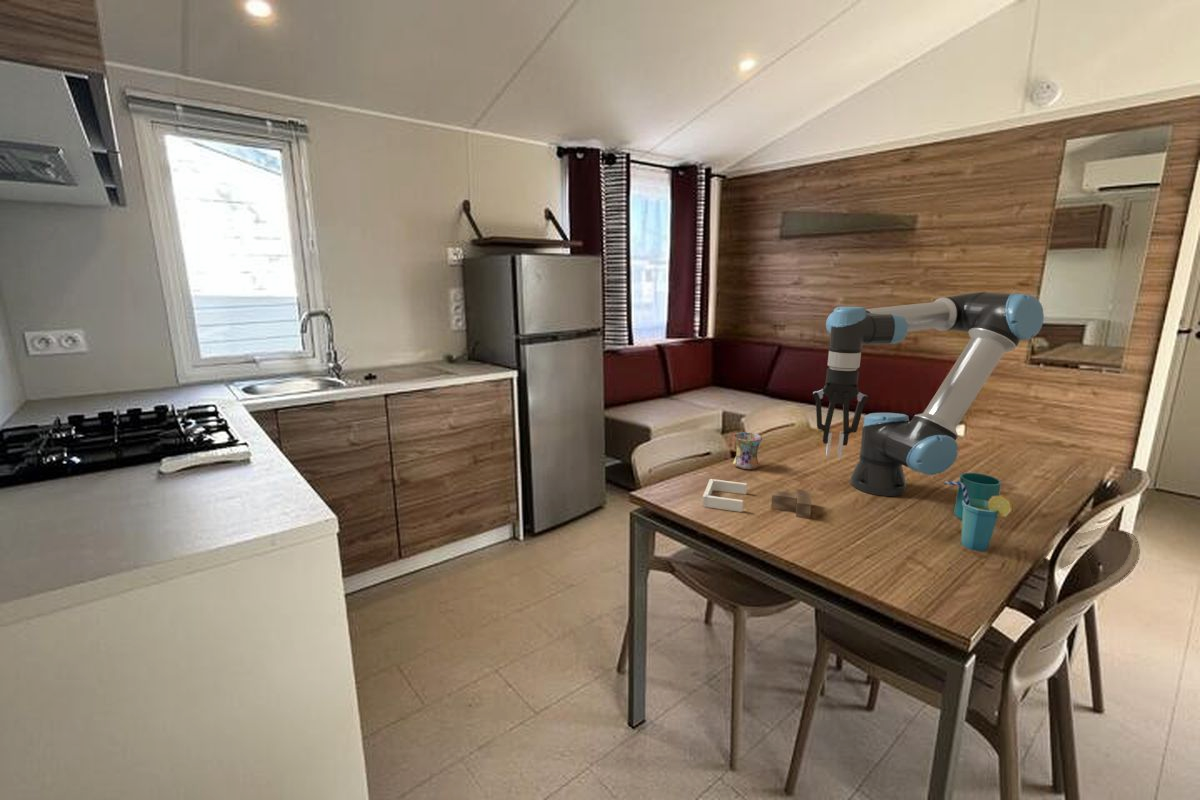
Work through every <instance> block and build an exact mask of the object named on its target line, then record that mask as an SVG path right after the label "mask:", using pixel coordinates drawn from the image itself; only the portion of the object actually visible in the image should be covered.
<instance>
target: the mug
mask: <svg viewBox="0 0 1200 800" xmlns="http://www.w3.org/2000/svg"><path fill="white" fill-rule="evenodd" d="M733 439H734V442H735V445H736V453H735V454H736V455H735V458H734V460H733V462H732V464H733V466H735V467H737V468H740V469H743V470H754V469H758V468H759V466H760V463H759V460H758V450H759V446H760V444H761V442H762V440H763V436H762V435H761V434H757V433H754V432H753V433H752V432H744V431H743V432H736V433H734V434H733Z"/></svg>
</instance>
